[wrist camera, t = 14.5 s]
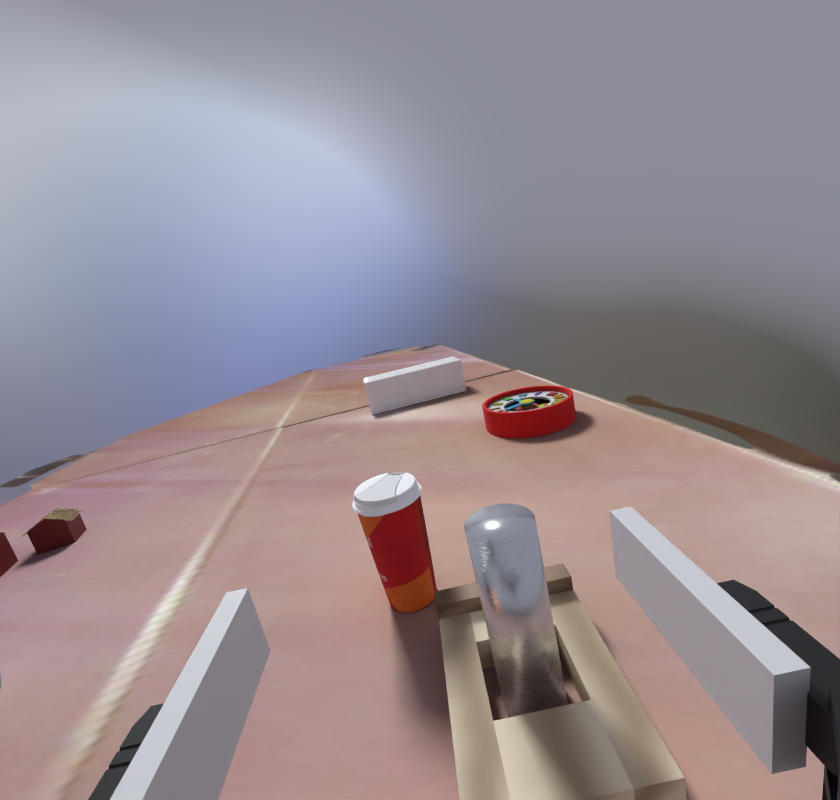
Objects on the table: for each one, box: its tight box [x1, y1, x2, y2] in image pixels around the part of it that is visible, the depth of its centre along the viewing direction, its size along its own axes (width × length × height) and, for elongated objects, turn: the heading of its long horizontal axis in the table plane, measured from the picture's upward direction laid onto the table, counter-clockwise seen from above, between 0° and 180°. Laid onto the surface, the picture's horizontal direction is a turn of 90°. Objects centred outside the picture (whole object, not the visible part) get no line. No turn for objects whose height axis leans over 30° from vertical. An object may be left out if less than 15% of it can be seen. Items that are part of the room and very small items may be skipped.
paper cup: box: [352, 473, 436, 613], centre depth 46 cm, size 8×8×14 cm
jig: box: [434, 564, 687, 800], centre depth 33 cm, size 13×18×4 cm
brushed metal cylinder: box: [464, 504, 567, 717], centre depth 31 cm, size 5×5×16 cm
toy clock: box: [482, 386, 576, 438], centre depth 95 cm, size 20×6×20 cm
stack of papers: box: [363, 357, 467, 415], centre depth 140 cm, size 32×11×11 cm, turn 99°
